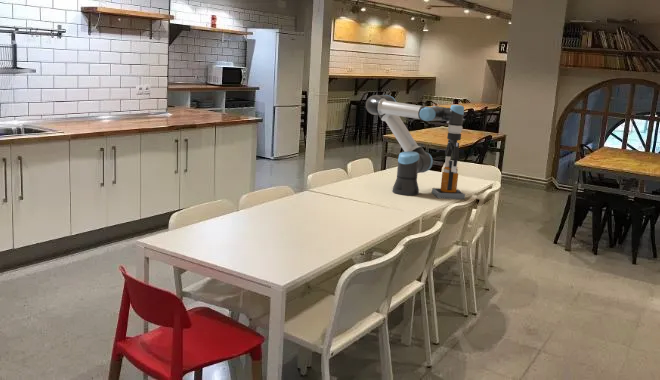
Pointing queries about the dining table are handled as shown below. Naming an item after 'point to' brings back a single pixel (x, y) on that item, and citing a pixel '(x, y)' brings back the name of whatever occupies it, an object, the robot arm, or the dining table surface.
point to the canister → (449, 180)
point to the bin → (448, 194)
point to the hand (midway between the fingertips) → (450, 169)
